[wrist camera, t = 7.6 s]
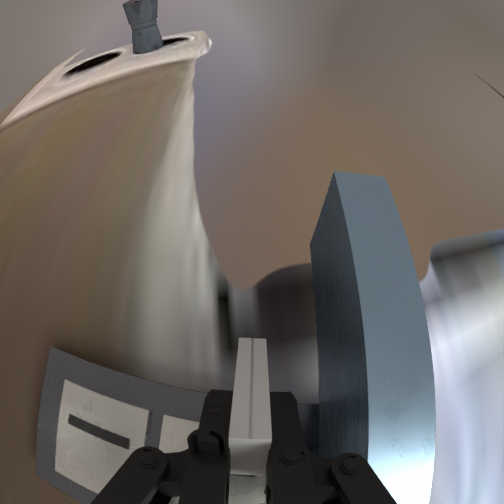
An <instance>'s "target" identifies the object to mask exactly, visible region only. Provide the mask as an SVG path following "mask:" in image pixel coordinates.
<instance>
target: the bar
mask: <svg viewBox="0 0 504 504" xmlns="http://www.w3.org/2000/svg"><path fill="white" fill-rule="evenodd" d="M310 250H311V261H312V272H313V283H314V296H315V309H316V325H317V344H318V369H319V456H322V457H328V458H336V457H337V456H339V455H340V454H343V453H348V452H350V453H356V454H359V455H361V456H362V457H364V458H365V459H366V461H367V462H368V463H369V465H370V466H371V468H372V469H373V470H374V472H375V473H376V475H377V476H378V478H379V479H380V480H381V482H382V483H383V485H384V486H385V487H386V489H387V490H388V491H389V493H390V494H391V496H392V497H393V498H394V500H395V501H396V503H397V504H429V499H430V492H431V485H432V477H433V467H434V455H435V431H436V412H435V387H434V374H433V363H432V354H431V346H430V339H429V332H428V326H427V320H426V315H425V309H424V304H423V299H422V295H421V290H420V286H419V281H418V277H417V273H416V269H415V266H414V262H413V258H412V254H411V251H410V248H409V244H408V241H407V238H406V234H405V231H404V228H403V225H402V222H401V219H400V216H399V214H398V210H397V208H396V205H395V202H394V199H393V197H392V194H391V191H390V189H389V186H388V184H387V181H386V179H385V177H379V176H373V175H364V174H356V173H346V172H336V171H334V173H333V176H332V179H331V182H330V185H329V188H328V192H327V195H326V198H325V201H324V204H323V207H322V210H321V213H320V216H319V219H318V223H317V225H316V228H315V232H314V234H313V237H312V240H311V243H310Z"/></svg>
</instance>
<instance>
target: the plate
mask: <svg viewBox="0 0 504 504" xmlns="http://www.w3.org/2000/svg"><path fill="white" fill-rule="evenodd" d="M207 394H208V393H203V392H198V391H193V390H188V389H183V388H178V387H174V386H169V385H165V384H161V383H157V382H153V381H149V380H146V379H142V378H138V377H135V376H131V375H128V374H125V373H122V372H118V371H115V370H112V369H109V368H106V367H103V366H100V365H97V364H95V363H92V362H89V361H86V360H84V359H81V358H79V357H76V356H73V355H71V354H68V353H66V352H64V351H61V350H59V349H57V348H54V347H52V346H51V348H50V352H49V357H48V361H47V366H46V371H45V376H44V381H43V387H42V393H41V400H40V407H39V416H38V426H37V440H36V475H38V476H39V477H41V478H42V479H44V480H45V481H47V482H48V483H50V484H51V485H53V486H54V487H56V488H57V489H59V490H61V491H62V492H64V493H66V494H67V495H69V496H71V497H73V498H74V499H76V500H78V501H80V502H82V503H84V504H90V503H91V502H92V501H93V500H94V499H95V497H96V496H97V495H98V494H99V493H100V491H101V490H102V489H103V488H104V487H105V485H106V484H107V483H108V482H109V481H110V479H111V478H112V477H113V476H114V475H115V473H116V472H117V471H118V470H119V468H120V467H121V466H122V465H123V464H124V462H125V461H126V460H127V459H128V457H129V456H130V455H131V454H132V452H134V451H135V450H136V449H138V448H141V447H144V446H151V447H155V448H158V449H160V450H161V451H163V453H173V452H180V451H184V450H186V449H188V448H189V447H188V442H187V438H188V436H189V434H190V433H192V432H193V431H194V430H196V429H198V427H199V423H200V418H201V414H202V409H203V405H204V400H205V396H206V395H207ZM297 406H298V412H299V417H300V423H301V429H302V436H303V442H304V445H305V447H306V448H307V449H308V450H309V451H310V452H311V453H313V454H315V455H318V456H319V404H299V403H297ZM265 486H266V475H238V474H230V488H229V500H228V504H266V495H265V494H264V491H265ZM178 501H179V497H177V498H176V500H175V501H174V503H173V504H178Z"/></svg>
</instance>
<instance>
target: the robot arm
mask: <svg viewBox="0 0 504 504" xmlns="http://www.w3.org/2000/svg"><path fill="white" fill-rule="evenodd" d="M187 442H188V447H189V448H188V449H186V450H184V451H180V452H173V453H163V451H161V450H160V449H158V448H155V447H151V446H144V447H141V448H138V449H136V450H135V451H134V452H132V454H131V455H130V456H129V457H128V459H127V460H126V461H125V462H124V464H123V465H122V466H121V467H120V468H119V470H118V471H117V472H116V473H115V475H114V476H113V477H112V478H111V479H110V481H109V482H108V483H107V484H106V485H105V487H104V488H103V489H102V490H101V491H100V493H99V494H98V495H97V496H96V497H95V499H94V500H93V501H92V502H91V503H90V504H173V503H174V501H175V500H176V498H177V497H179V501H178V504H228V500H229V488H230V474H238V475H266V486H265V491H264V494H265V495H266V504H397V503H396V501H395V500H394V498H393V497H392V496H391V494H390V493H389V491H388V490H387V489H386V487H385V486H384V485H383V483H382V482H381V480H380V479H379V478H378V476H377V475H376V473H375V472H374V470H373V469H372V468H371V466H370V465H369V463H368V462H367V461H366V459H365V458H364V457H362V456H361V455H359V454H356V453H350V452H348V453H343V454H340V455H339V456H337V457H336V458H328V457H322V456H318V455H315V454H313V453H311V452H310V451H309V450H308V449H307V448H306V447H305V445H304V442H303V436H302V429H301V423H300V417H299V412H298V406H297V400H296V398H295V397H294V396H293V394H292V393H291V392H269V376H268V360H267V344H266V339H259V338H239V344H238V353H237V362H236V372H235V381H234V391H225V390H213V389H212V390H211V391H210V392H209V393H208V394H207V395H206V396H205V400H204V405H203V409H202V414H201V418H200V423H199V427H198V429H196V430H194V431H193V432H192V433H190V434H189V436H188V438H187Z"/></svg>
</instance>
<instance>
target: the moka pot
mask: <svg viewBox="0 0 504 504" xmlns="http://www.w3.org/2000/svg"><path fill="white" fill-rule="evenodd" d="M157 2H158V1H157V0H130V1H128V2H126V3H124V4H123V7H124V10H125V13H126V16H127V19H128V22H129V24H130V25H131V29H132V42H133V53H135V54H141V53H146V52H150V51H153V50H156V49H158V48H160V47H161V46H163V41H162V38H161V35H160V32H159V29H158V27H157V24H156V23H157V21H156V18H157V4H158V3H157Z"/></svg>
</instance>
